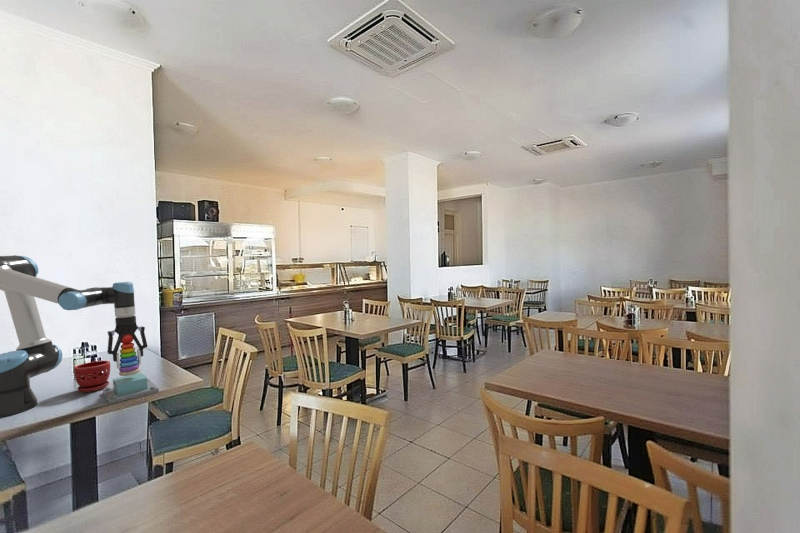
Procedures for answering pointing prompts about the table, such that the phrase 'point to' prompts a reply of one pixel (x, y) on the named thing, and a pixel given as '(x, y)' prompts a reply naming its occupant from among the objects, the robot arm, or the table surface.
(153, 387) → the baseplate
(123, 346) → the stacking toy
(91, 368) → the plant pot
